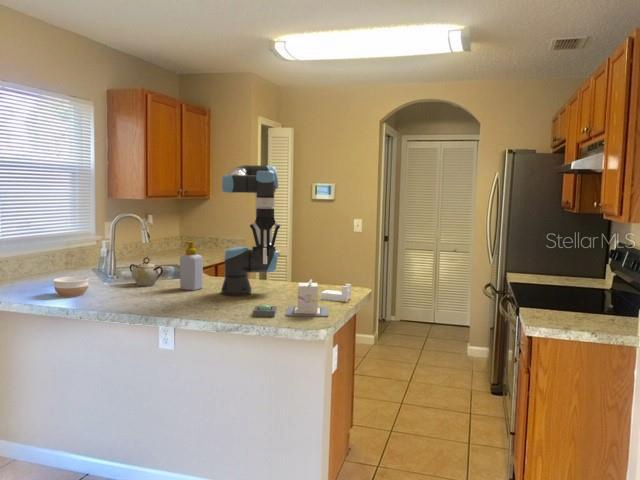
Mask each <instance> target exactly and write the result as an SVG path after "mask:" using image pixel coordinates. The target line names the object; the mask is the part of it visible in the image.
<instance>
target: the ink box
mask: <svg viewBox="0 0 640 480" xmlns="http://www.w3.org/2000/svg"><path fill="white" fill-rule="evenodd" d="M297 287H298V288H297V289H298V290H297V306H298V312H299V313H317V312H318V307H319V306H318V305H319V304H318V303H319V301H318V299H319V298H318V297H319V292H318V290H319V285H318V282H313V278H311V279H309V281H308V282H298V286H297Z"/></svg>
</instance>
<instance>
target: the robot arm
mask: <svg viewBox="0 0 640 480" xmlns="http://www.w3.org/2000/svg"><path fill="white" fill-rule="evenodd" d="M278 189H279V179H278V171H277V168H276V167H275V166H274V165H267V164H266V165H259V164H258V165H256V164H255V165H240V166H236V167H234V168H232V169H231V170H230V171H229V172H228V174H223V175H222V177H221V191H222V192H223V193H228V194H231V193H233V194H234V193H235V194H236V193H237V194H238V193H239V194H240V193H242V194H243V193H247V194H250V193H251V194H252V193H253V195H255V221H254V222H253V223H251V224H250V225H249V227H250V229H251V231H252V234H253V238H254V239H253V240H254V244H253V245H252V247H251V248H252V249H249V247H248V246H238V247H237V246H236V247H230V248H227V249H226V250H225V252H224V280H223V283H222V286H221V291H220V292H221V295H224V296H231V297H239V296H248V295H250V294H252V286H251V283H250V279H249V273H250V274H251V273H253V274H254V273H265V274H267V273H275V271H276V270H277V265H278V259H279V250H278V249H276V245H275V243H276V240H277V235H278V231H279V229H280V227H281V224H279V223H277V222H276V219H275V209H274V207H275V194H276V190H278ZM273 227H274V231H273Z"/></svg>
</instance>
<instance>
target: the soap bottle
mask: <svg viewBox="0 0 640 480" xmlns="http://www.w3.org/2000/svg"><path fill="white" fill-rule="evenodd" d="M185 244H188V248H186V249H185V254H183V255H181V256H180V258H179V277H180V278H179V279H180V280H179V284H180V285H179V288H180V290H184V291H197V290H200V289H203V287H204V286H203V285H204V283H203V275H204V274H203V266H204V265H203V255H200V254H198V251H197V249H196V248H195V246H194V245H195V241H194V240H188V241H185Z"/></svg>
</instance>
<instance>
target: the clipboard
mask: <svg viewBox="0 0 640 480" xmlns="http://www.w3.org/2000/svg"><path fill="white" fill-rule="evenodd" d="M285 317H302V318H303V317H305V318H306V317H310V318H316V317H317V318H319V317H320V318H329V308H328V306H318V312H317V313H299V312H298V305H296V306H295V305H294V306H291V305H289V306H287V308H286V311H285Z"/></svg>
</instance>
